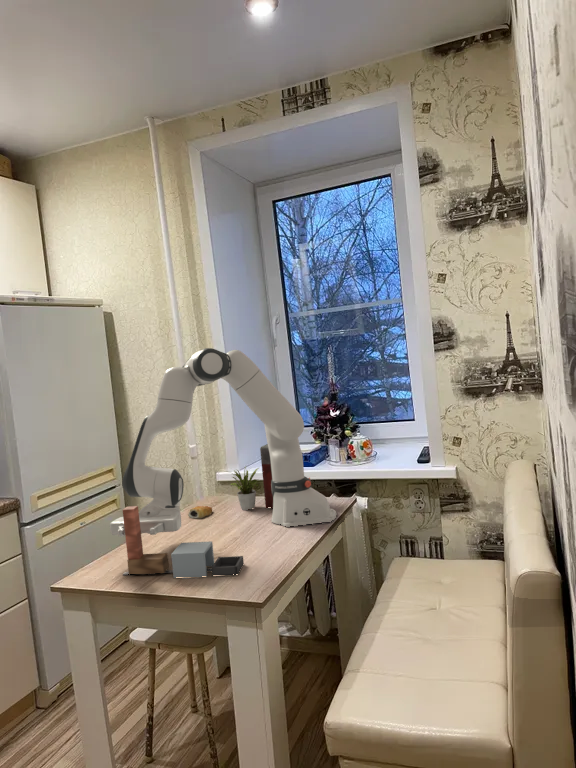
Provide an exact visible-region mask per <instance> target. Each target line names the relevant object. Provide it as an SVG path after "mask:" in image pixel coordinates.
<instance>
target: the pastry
mask: <svg viewBox="0 0 576 768" xmlns="http://www.w3.org/2000/svg"><path fill="white" fill-rule="evenodd" d="M212 513H213V508H212V507H211V506H208V505H200V506H199V505H197V506H195V507H192V508H191V509H189V511H188V514H187V516H188V518H189V517H190V518H189V519H196V520H197V519H203V518H205V517H208V516H210V515H211V514H212Z"/></svg>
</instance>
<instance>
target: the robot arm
mask: <svg viewBox="0 0 576 768" xmlns="http://www.w3.org/2000/svg"><path fill="white" fill-rule="evenodd" d="M220 379H222V380H224V381H226V382H227V383H228V384H229V385H230V387H231V388H232V390H233V391H234V392H235V393H236V394H237V395H238V396H239V398H240V399H241V400H242V402H244V403H245V404H246V406H247V407H248V408H249V409H250V410H251V412H253V413H254V414H255V416H256V417H257V418H258V419H260V421H261V422H262V423H263V424H264V432H265V436H266V442H267V443H266V444H268V448H269V453H270V460H271V470H272V480H271V488H272V495H273V509H272V513H271V514H272V516H271V520H270V521H271V523H273V524H276V525H280V524H281V526H283V527H285V526H286V527H285V528H291V527H290V526H294V527H299V526H298V525H303V526H306V525H305V524H312V525H314V524H313V523H320V522H330V521H332V520H334V519H335V518H336V519H337V517H336V515H337V511H336V510H335V509H333V508H331V507H330V503H329V500H328V499H327V497H326V496H325V495H324V494H323V493H320V492H319V491H318V490H316V489H314V488H313V487H312V481H311V477H308V476H305V470H304V457H303V452H302V449H301V446H300V445H301V444H300V441H299V437H301V435H303V432H304V430H305V421H304V419H303V417H302V415H301V414H300V412H298V411H297V409H296V408H295V407H294V406H293V405H292V404H291V403H290V402H289V401H288V400H287V398H286V397H285V396H284V395H283V394H282V393H281V392H280V391H279V390H278V388H276V387H275V386H274V385H273V383H272V382H271V381H270V380H269V378H268V377H267V376H266V375H265V374H264V372H263V371H262V370H261V369H260V368H259V367H258V366H257V364H256V363H255V362H254V361H253V360H252V359H251V358H250V357H248V356H247V355H246V354H245V353H243V351H241V350H239V349H233V350H232V349H231V350H230V351H227V352H226V353H225V352H223V351H220V350H219V349H215V348H211V347H207V348H206V347H205V348H203V349H200V350H198V351H196V352H194V353H193V354H192V355H191V356H190V357H189V358H188V359H187V361H185V362H184V364H183V365H182V367H181V366H172V367H170V368H168V369H166V370H165V371H164V373H163V376H162V378H161V381H160V385H159V390H158V393H157V394H158V395H157V401H156V404H155V407H154V409H153V410H152V412H151V413H150V414H147V415H146V416H145V417H144V419H143V421H142V423H141V426H140V428H139V431H138V434H137V437H136V441H135V443H134V447H133V448H132V449H133V450H132V453H131V456H130V458H129V461H128V464H127V466H126V469H125V471H124V474H123V476H122V481H121V483H122V484H121V486H122V489H123V491H124V492H125V493H126V494H127V495H128V496H129V497H131V498H150V499H152V500H151V501H150V502H149V503H147V504H146V505H145V506H143V507H142V508H141V509H140V510H139V520H140V529H141V534H148V535H152V536H154V535H156V534H158V533H171V532H176V531H177V532H178V531H179V530H180V529H181V528H182V514H181V509H180V507H181V500H182V499H183V496H184V495H183V494H184V487H185V485H184V479H183V477H182V475H181V473H180V472H179V471H178V470H177V469H175V468H168V467H157V466H151V465H150V466H148V465H146V460H147V458H148V454H149V451H150V448H151V445H152V441H153V440H154V439H155V438H156V437H157V436H158V435H161V434H163V433H167V432H170V431H175V430H176V429H179V428H180V427H183V426H184V425H185V424H187V422H188V421H189V419H190V418H191V413H192V407H193V400H194V393H195V390H196V388H197V387H199V386H205V385H209V384H212V383H215V381H218V380H220ZM337 516H338V515H337ZM336 519H335V520H336ZM335 520H334V521H335ZM332 522H333V521H332ZM330 523H331V522H330ZM109 531H110V534H111V535H112V536H117V537H125V528H124V519H123V516H120V517H118V518H115V519H114V520H112V521H111V522H109Z"/></svg>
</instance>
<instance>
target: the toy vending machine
mask: <svg viewBox="0 0 576 768" xmlns="http://www.w3.org/2000/svg"><path fill="white" fill-rule="evenodd" d="M259 450H260V461H261V472H262V483H263V493H264V505H265V509H266V508H268V507H271V508H273V495H272V488H271V480H272V470H271V460H270V453H269V448H268V443H266V444H264V445H262V446H260V448H259Z"/></svg>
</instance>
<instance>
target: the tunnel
mask: <svg viewBox="0 0 576 768" xmlns="http://www.w3.org/2000/svg"><path fill="white" fill-rule="evenodd" d="M213 544H214V543H213V541H212V540H211V541H210V540H209V541H194V542H193V541H192V542H181V543H180V544H179V545H178V546H177V547H176V548H175V549H174V551H173V552H171V554H170V555H171V556H170V557H171V563H172V564H171V566H172V570H173V575H172V576H173V579H174V578H176V577H202V576H207V577H208V572H207V569H208V568H207V567H206V566H209V567H212V566H213V565H214V563H215V556H214V555H215V554H214V545H213Z"/></svg>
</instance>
